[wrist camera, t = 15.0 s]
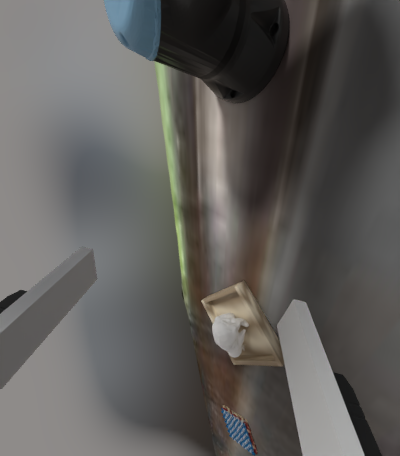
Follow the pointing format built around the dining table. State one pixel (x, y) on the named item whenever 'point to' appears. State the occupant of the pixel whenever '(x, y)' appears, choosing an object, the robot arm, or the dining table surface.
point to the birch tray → (256, 331)
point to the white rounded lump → (229, 333)
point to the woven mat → (239, 430)
